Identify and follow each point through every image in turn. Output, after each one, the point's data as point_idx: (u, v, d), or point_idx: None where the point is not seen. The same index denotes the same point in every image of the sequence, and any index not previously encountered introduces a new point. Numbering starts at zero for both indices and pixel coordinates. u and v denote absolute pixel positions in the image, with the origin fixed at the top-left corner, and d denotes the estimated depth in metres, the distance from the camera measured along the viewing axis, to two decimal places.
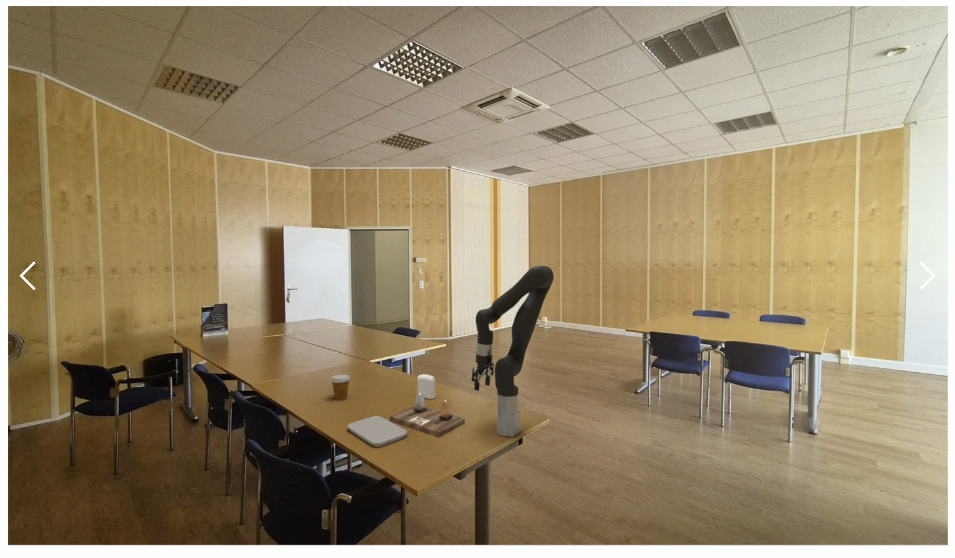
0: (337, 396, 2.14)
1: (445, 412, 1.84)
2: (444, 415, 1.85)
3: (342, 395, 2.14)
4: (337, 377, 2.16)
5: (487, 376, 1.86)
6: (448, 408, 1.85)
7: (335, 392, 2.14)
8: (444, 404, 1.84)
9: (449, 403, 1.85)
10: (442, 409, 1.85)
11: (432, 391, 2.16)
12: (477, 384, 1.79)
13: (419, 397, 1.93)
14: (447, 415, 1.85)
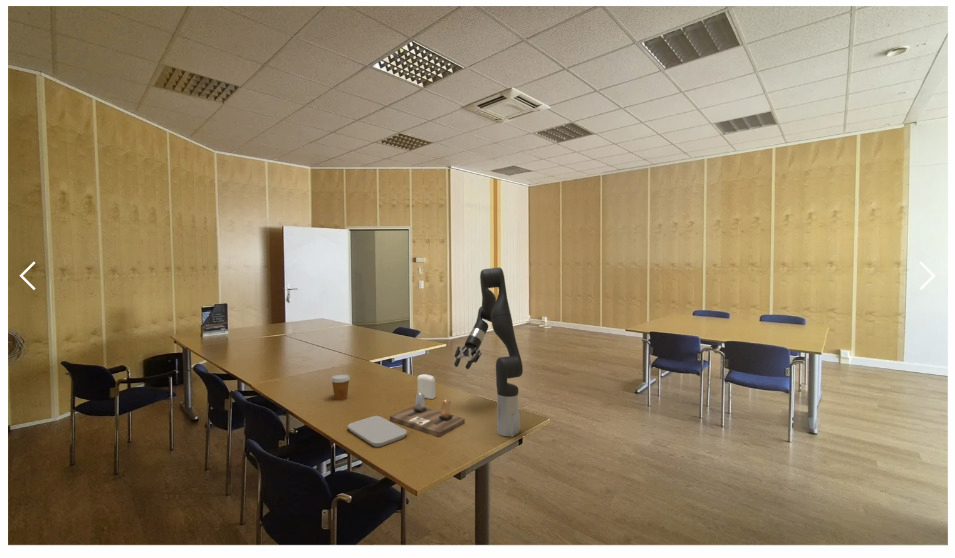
0: (337, 396, 2.14)
1: (445, 412, 1.84)
2: (444, 415, 1.85)
3: (342, 395, 2.14)
4: (337, 377, 2.16)
5: None
6: (448, 408, 1.85)
7: (335, 392, 2.14)
8: (444, 404, 1.84)
9: (449, 403, 1.85)
10: (442, 409, 1.85)
11: (432, 391, 2.16)
12: (456, 359, 2.01)
13: (419, 397, 1.93)
14: (447, 415, 1.85)
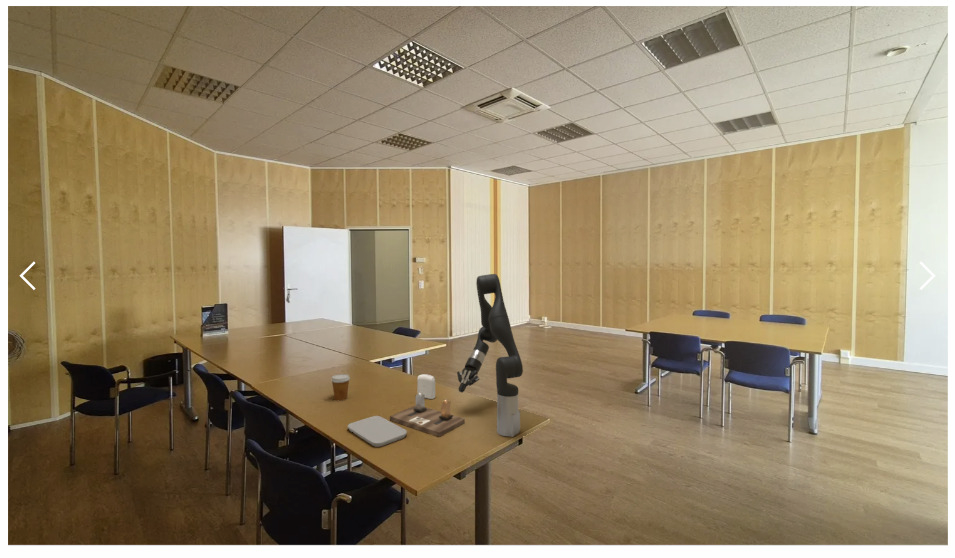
0: (337, 396, 2.14)
1: (445, 412, 1.84)
2: (444, 415, 1.85)
3: (342, 395, 2.14)
4: (337, 377, 2.16)
5: None
6: (448, 408, 1.85)
7: (335, 392, 2.14)
8: (444, 404, 1.84)
9: (449, 403, 1.85)
10: (442, 409, 1.85)
11: (432, 391, 2.16)
12: (460, 384, 1.96)
13: (419, 397, 1.93)
14: (447, 415, 1.85)
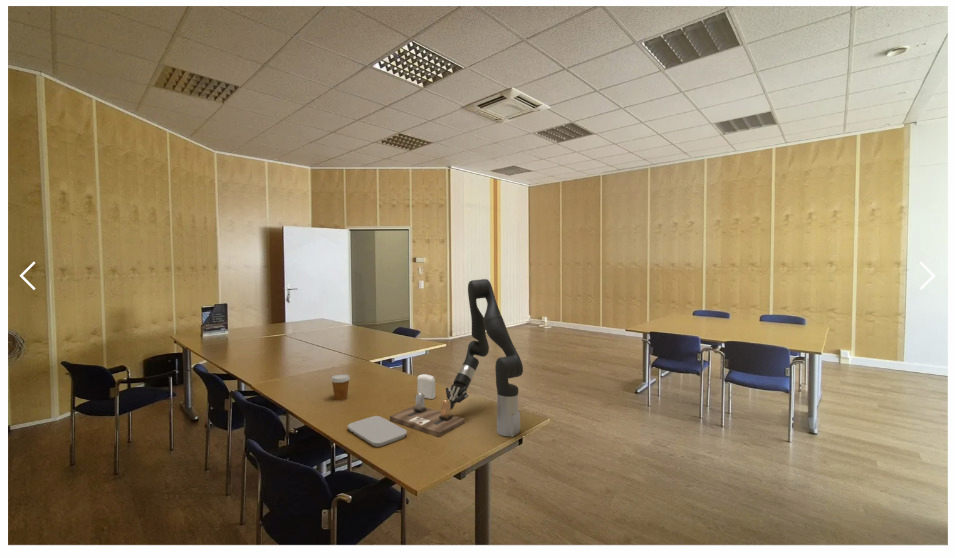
0: (337, 396, 2.14)
1: (445, 412, 1.84)
2: (444, 415, 1.85)
3: (342, 395, 2.14)
4: (337, 377, 2.16)
5: None
6: (448, 408, 1.85)
7: (335, 392, 2.14)
8: (444, 404, 1.84)
9: (449, 403, 1.85)
10: (442, 409, 1.85)
11: (432, 391, 2.16)
12: None
13: (419, 397, 1.93)
14: (447, 415, 1.85)
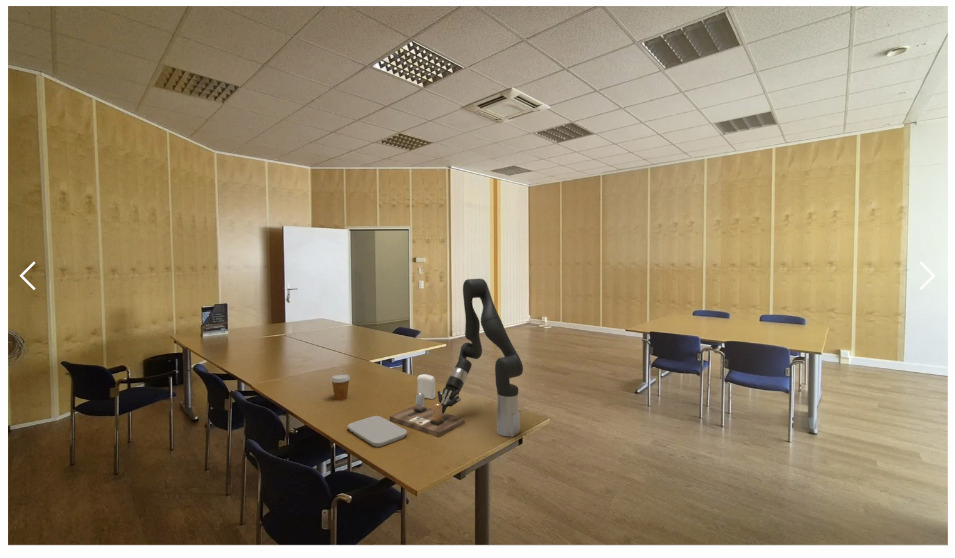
0: (337, 396, 2.14)
1: (436, 416, 1.79)
2: (435, 419, 1.80)
3: (342, 395, 2.14)
4: (337, 377, 2.16)
5: None
6: (439, 412, 1.80)
7: (335, 392, 2.14)
8: (435, 408, 1.79)
9: (440, 407, 1.80)
10: (433, 413, 1.80)
11: (432, 391, 2.16)
12: None
13: (419, 397, 1.93)
14: (438, 419, 1.80)
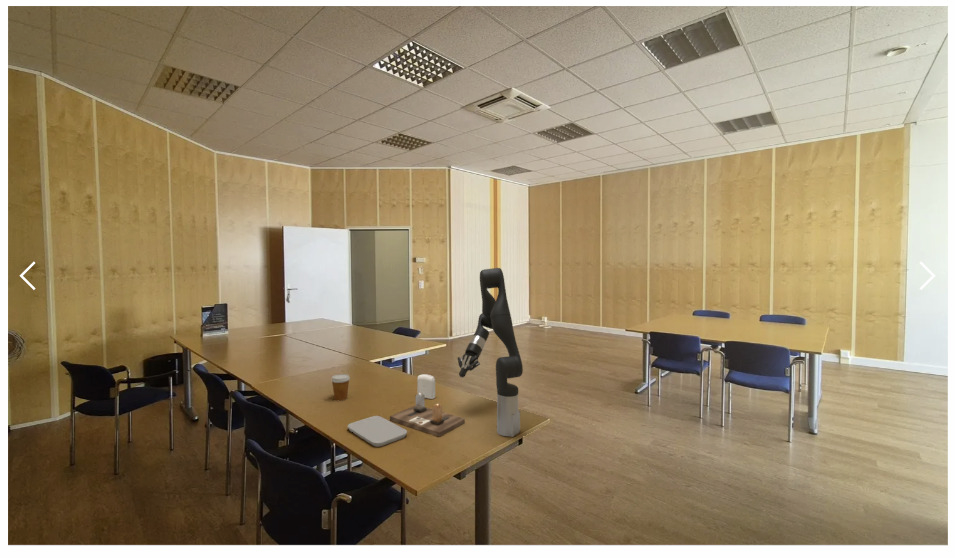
0: (337, 396, 2.14)
1: (436, 416, 1.79)
2: (435, 419, 1.80)
3: (342, 395, 2.14)
4: (337, 377, 2.16)
5: None
6: (439, 412, 1.80)
7: (335, 392, 2.14)
8: (435, 408, 1.79)
9: (440, 407, 1.80)
10: (433, 413, 1.80)
11: (432, 391, 2.16)
12: (461, 370, 1.96)
13: (419, 397, 1.93)
14: (438, 419, 1.80)
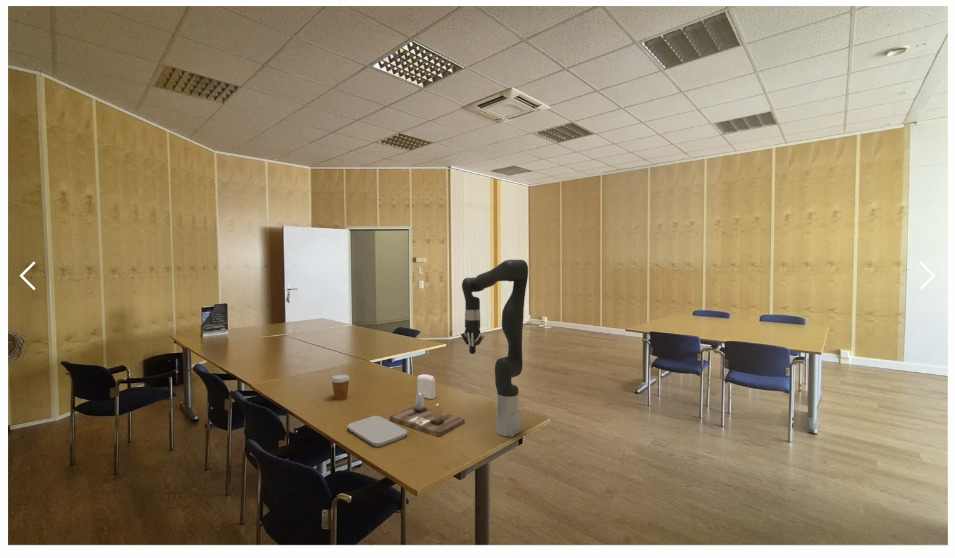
0: (337, 396, 2.14)
1: (436, 416, 1.79)
2: (435, 419, 1.80)
3: (342, 395, 2.14)
4: (337, 377, 2.16)
5: None
6: (439, 412, 1.80)
7: (335, 392, 2.14)
8: (435, 408, 1.79)
9: (440, 407, 1.80)
10: (433, 413, 1.80)
11: (432, 391, 2.16)
12: (469, 347, 1.98)
13: (419, 397, 1.93)
14: (438, 419, 1.80)
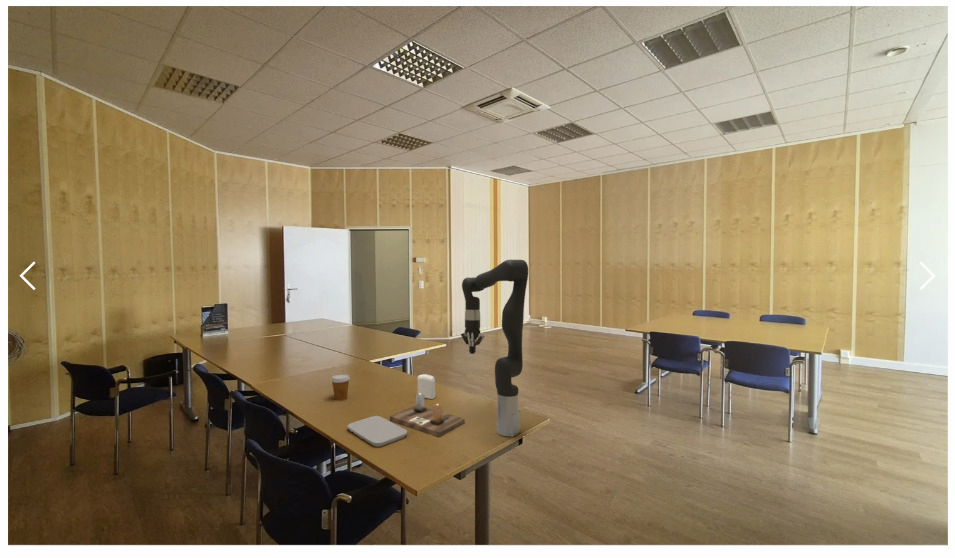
0: (337, 396, 2.14)
1: (436, 416, 1.79)
2: (435, 419, 1.80)
3: (342, 395, 2.14)
4: (337, 377, 2.16)
5: None
6: (439, 412, 1.80)
7: (335, 392, 2.14)
8: (435, 408, 1.79)
9: (440, 407, 1.80)
10: (433, 413, 1.80)
11: (432, 391, 2.16)
12: (469, 347, 1.98)
13: (419, 397, 1.93)
14: (438, 419, 1.80)
